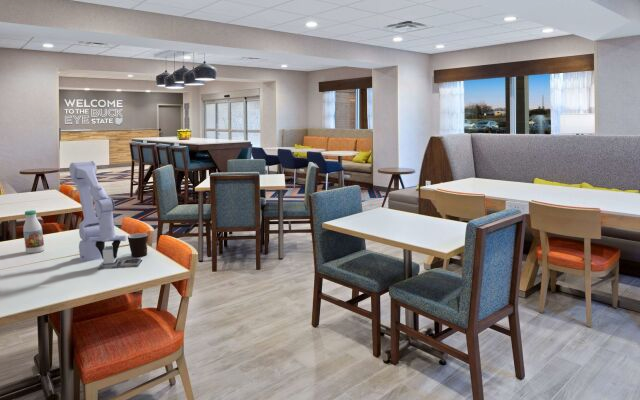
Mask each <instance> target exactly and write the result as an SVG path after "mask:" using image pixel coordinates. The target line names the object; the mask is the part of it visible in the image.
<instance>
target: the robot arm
mask: <svg viewBox="0 0 640 400" xmlns="http://www.w3.org/2000/svg"><path fill="white" fill-rule="evenodd" d="M68 167H69V168H68V169H69V175H70V179H71V182H72V183H74V184H76V187H77V192H78V196H79V200H80V205H81V210H82V215H83V220H82V221H81V222H80V223H79V225H78V234H79V237H80V239H81V240H80V241H79V243H78V250H79V251H78V253H79V261H80V262H81V261H97V260H98V261H99V260H103V249H104V248H105V247H106V244H105V243H107V242H109V243H110V242H112V243H111V246H112V247H113V254H114V258H116V259H117V257H118V251H119V247H120V244H121V242H126V241H127V240H128V238H127V235H116V231H115V224H114V213H113V212H114V211H115V206H116V205H115V201H114V199H113V197H110V196H108V194H107V192H106V189H105V188H104V186H102V185H100V184H99V181H98V179H97V172H98V169H97V168H98V167H97V164H96V162H95V161H93V160H91V161H81V162H78V161H77V162H71V163H70V164H69V166H68Z"/></svg>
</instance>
